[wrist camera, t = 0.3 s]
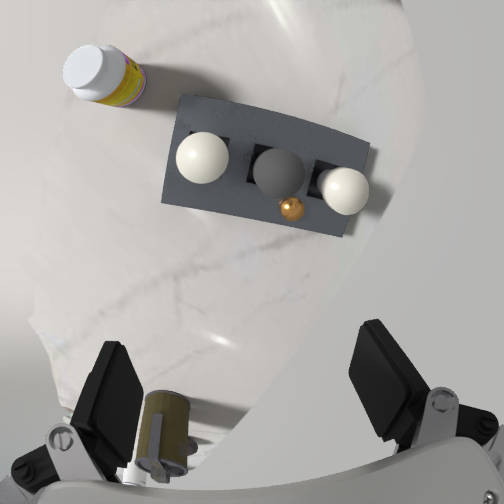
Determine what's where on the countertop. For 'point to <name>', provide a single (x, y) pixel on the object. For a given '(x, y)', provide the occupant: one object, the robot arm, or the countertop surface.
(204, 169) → the knob
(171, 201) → the panel
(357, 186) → the knob
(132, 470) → the cylindrical container
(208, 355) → the countertop surface
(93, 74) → the supplement bottle
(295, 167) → the knob middle
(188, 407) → the canister
